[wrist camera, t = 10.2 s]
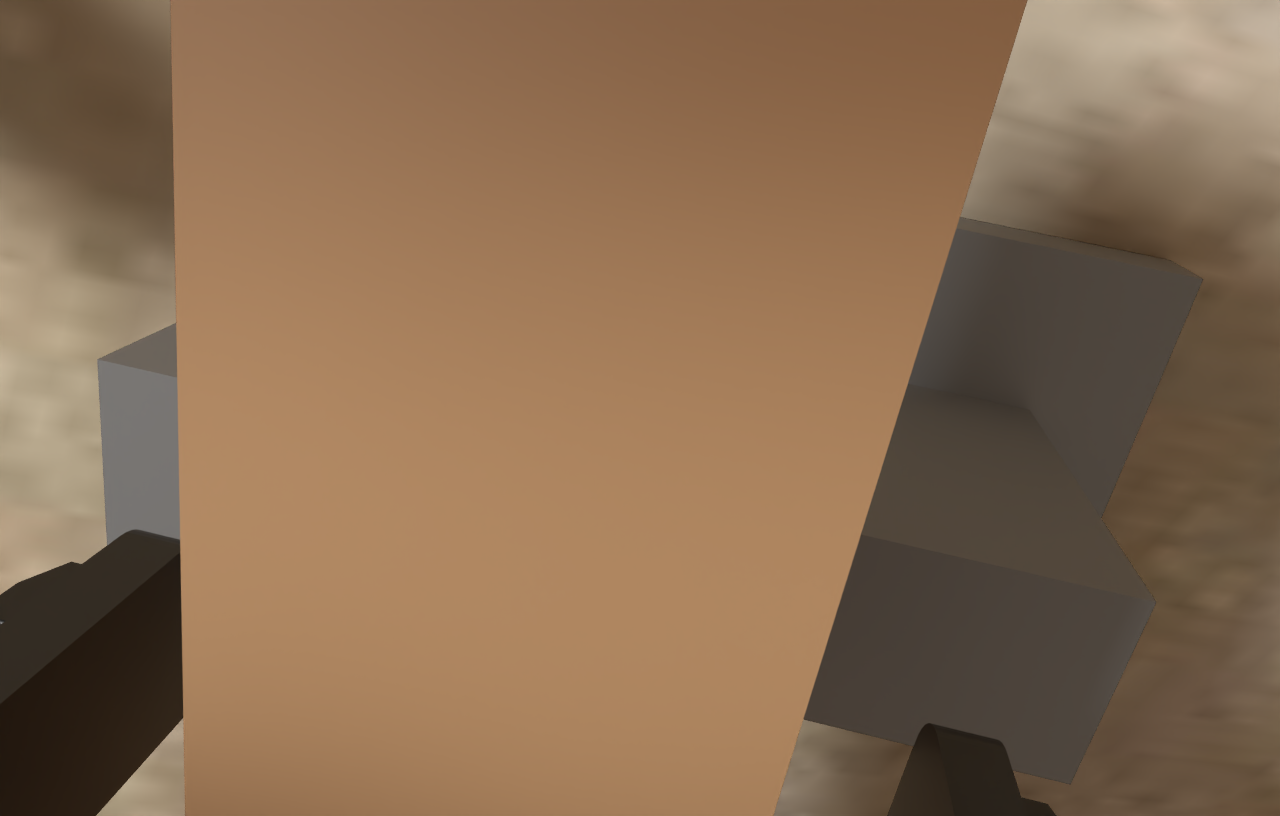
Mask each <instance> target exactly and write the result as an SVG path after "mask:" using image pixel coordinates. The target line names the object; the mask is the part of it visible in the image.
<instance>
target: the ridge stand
mask: <svg viewBox="0 0 1280 816" xmlns="http://www.w3.org/2000/svg"><path fill="white" fill-rule="evenodd" d="M1202 281H1203V279H1202V278H1200V277H1199V276H1197V275H1195V274H1193V273H1192V272H1190V271H1188V270H1186V269H1185V268H1183V267H1181V266H1179V265H1178V264H1176V263H1174V262H1172V261H1171V260H1166V259H1161V258H1156V257H1152V256H1147V255H1142V254H1137V253H1132V252H1127V251H1122V250H1117V249H1112V248H1108V247H1103V246H1098V245H1093V244H1088V243H1083V242H1078V241H1073V240H1069V239H1064V238H1059V237H1054V236H1049V235H1044V234H1039V233H1034V232H1029V231H1025V230H1020V229H1015V228H1010V227H1005V226H1000V225H995V224H990V223H985V222H981V221H976V220H971V219H966V218H961V217H960V218H959V221H958V225H957V228H956V231H955V234H954V237H953V241H952V244H951V247H950V250H949V253H948V257H947V260H946V263H945V266H944V269H943V273H942V276H941V279H940V282H939V285H938V289H937V292H936V295H935V298H934V301H933V305H932V308H931V311H930V314H929V318H928V321H927V324H926V327H925V330H924V334H923V337H922V340H921V343H920V346H919V350H918V353H917V356H916V359H915V362H914V366H913V369H912V372H911V375H910V378H909V382H908V385H907V388H906V391H905V395H904V398H903V401H902V404H901V407H900V411H899V414H898V417H897V420H896V423H895V427H894V430H893V433H892V436H891V439H890V443H889V446H888V449H887V452H886V455H885V459H884V462H883V465H882V468H881V472H880V475H879V478H878V481H877V484H876V488H875V491H874V494H873V497H872V500H871V504H870V507H869V510H868V513H867V516H866V520H865V523H864V526H863V529H862V532H861V536H860V539H859V542H858V545H857V549H856V552H855V555H854V558H853V561H852V565H851V568H850V571H849V574H848V577H847V581H846V584H845V587H844V590H843V593H842V597H841V600H840V603H839V606H838V609H837V613H836V616H835V619H834V622H833V625H832V629H831V632H830V635H829V638H828V642H827V645H826V648H825V651H824V654H823V658H822V661H821V664H820V667H819V670H818V674H817V677H816V680H815V683H814V686H813V690H812V693H811V696H810V699H809V702H808V706H807V709H806V712H805V715H804V720H808V721H812V722H816V723H820V724H825V725H829V726H833V727H837V728H841V729H845V730H849V731H853V732H857V733H861V734H866V735H870V736H874V737H878V738H882V739H886V740H890V741H894V742H898V743H902V744H907V745H911V746H914V744H915V741H916V739H917V736H918V734H919V732H920V730H921V729H922V727H923V726H924V725H925V724H927V723H931V724H935V725H940V726H944V727H948V728H952V729H956V730H960V731H964V732H968V733H973V734H977V735H981V736H985V737H989V738H993V739H997V740H1000V741H1001V742H1002V743H1003V745H1004V746H1005V749H1006V751H1007V754H1008V757H1009V760H1010V764H1011V767H1012V770H1013V771H1017V772H1021V773H1025V774H1030V775H1034V776H1038V777H1042V778H1046V779H1050V780H1054V781H1058V782H1062V783H1066V784H1071V782H1072V780H1073V778H1074V776H1075V774H1076V772H1077V769H1078V767H1079V765H1080V763H1081V761H1082V759H1083V757H1084V755H1085V752H1086V750H1087V748H1088V746H1089V744H1090V742H1091V740H1092V738H1093V736H1094V733H1095V731H1096V729H1097V727H1098V725H1099V723H1100V721H1101V719H1102V716H1103V714H1104V712H1105V710H1106V708H1107V706H1108V704H1109V702H1110V699H1111V697H1112V695H1113V693H1114V691H1115V689H1116V687H1117V685H1118V683H1119V680H1120V678H1121V676H1122V674H1123V672H1124V670H1125V668H1126V666H1127V663H1128V661H1129V659H1130V657H1131V655H1132V653H1133V651H1134V649H1135V647H1136V644H1137V642H1138V640H1139V638H1140V636H1141V634H1142V632H1143V630H1144V627H1145V625H1146V623H1147V621H1148V619H1149V617H1150V615H1151V613H1152V611H1153V608H1154V606H1155V604H1156V601H1155V599H1154V598H1153V596H1152V595H1151V593H1150V592H1149V590H1148V589H1147V587H1146V586H1145V584H1144V583H1143V581H1142V580H1141V578H1140V577H1139V575H1138V574H1137V572H1136V571H1135V569H1134V568H1133V566H1132V565H1131V563H1130V561H1129V560H1128V558H1127V557H1126V555H1125V554H1124V552H1123V551H1122V549H1121V548H1120V546H1119V545H1118V543H1117V542H1116V540H1115V539H1114V537H1113V536H1112V534H1111V533H1110V531H1109V530H1108V528H1107V527H1106V525H1105V524H1104V522H1103V520H1102V519H1101V518H1102V515H1103V513H1104V511H1105V508H1106V506H1107V503H1108V501H1109V499H1110V496H1111V494H1112V492H1113V489H1114V487H1115V485H1116V482H1117V480H1118V478H1119V475H1120V473H1121V471H1122V468H1123V466H1124V464H1125V461H1126V459H1127V457H1128V454H1129V452H1130V450H1131V447H1132V445H1133V443H1134V440H1135V438H1136V435H1137V433H1138V431H1139V428H1140V426H1141V424H1142V421H1143V419H1144V417H1145V414H1146V412H1147V410H1148V407H1149V405H1150V403H1151V400H1152V398H1153V396H1154V393H1155V391H1156V389H1157V386H1158V384H1159V382H1160V379H1161V377H1162V375H1163V372H1164V370H1165V368H1166V365H1167V363H1168V360H1169V358H1170V356H1171V353H1172V351H1173V349H1174V346H1175V344H1176V342H1177V339H1178V337H1179V335H1180V332H1181V330H1182V328H1183V325H1184V323H1185V321H1186V318H1187V316H1188V314H1189V311H1190V309H1191V307H1192V304H1193V302H1194V300H1195V297H1196V295H1197V292H1198V290H1199V288H1200V285H1201V283H1202ZM97 360H98V380H99V399H100V418H101V437H102V456H103V475H104V494H105V513H106V533H107V545H109V544H110V543H111V542H113V541H114V540H115V539H117V538H118V537H119V536H121V535H122V534H124V533H125V532H128V531H130V530H135V529H137V530H143V531H147V532H151V533H155V534H159V535H163V536H167V537H171V538H176V539H180V500H179V445H178V389H177V334H176V323H175V324H173V325H171V326H169V327H166V328H164V329H162V330H160V331H158V332H156V333H153V334H151V335H149V336H147V337H145V338H143V339H140V340H138V341H136V342H134V343H132V344H130V345H127V346H125V347H123V348H121V349H119V350H117V351H114V352H112V353H110V354H108V355H106V356H104V357H101V358H99V359H97Z"/></svg>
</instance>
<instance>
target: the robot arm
mask: <svg viewBox="0 0 1280 816" xmlns="http://www.w3.org/2000/svg"><path fill="white" fill-rule="evenodd" d="M182 718H183V666H182V611H181V555H180V539H176V538H171V537H167V536H163V535H159V534H155V533H151V532H147V531H143V530H137V529H135V530H130V531H128V532H125V533H124V534H122V535H121V536H119V537H118V538H117V539H115V540H114V541H113V542H111V543H110V544H109V545H107V546H106V547H105V548H103V549H102V550H101V551H99V552H98V553H96V554H95V555H94V556H92V557H91V558H90V559H88V560H87V561H86V562H84V563H83V564H78V563H74V562H70V563H67V564H64V565H62V566H59V567H57V568H54V569H52V570H49V571H47V572H44V573H42V574H39V575H36V576H34V577H31V578H29V579H26V580H24V581H21V582H19V583H17V584H15V585H14V586H12V587H11V588H10V589H8V590H7V591H5V592H4V593H3V594H1V595H0V816H96V815H97V814H98V813H99V812H100V810H101V809H102V808H103V807H104V806H105V805H106V804H107V803H108V802H109V800H110V799H111V798H112V797H113V796H114V795H115V794H116V793H117V791H118V790H119V789H120V788H121V787H122V786H123V785H124V784H125V782H126V781H127V780H128V779H129V778H130V777H131V776H132V775H133V773H134V772H135V771H136V770H137V769H138V768H139V767H140V766H141V764H142V763H143V762H144V761H145V760H146V759H147V758H148V757H149V756H150V754H151V753H152V752H153V751H154V750H155V749H156V748H157V747H158V745H159V744H160V743H161V742H162V741H163V740H164V739H165V738H166V736H167V735H168V734H169V733H170V732H171V731H172V730H173V729H174V727H175V726H176V725H177V724H178V723H179V722H180V721H181V720H182ZM887 816H1056V815H1055V813H1054V812H1053V811H1052V809H1051V808H1050V807H1049V805H1048V804H1045V803H1041V802H1037V801H1033V800H1029V799H1025V798H1021V796H1020V793H1019V789H1018V786H1017V783H1016V780H1015V776H1014V773H1013V770H1012V767H1011V764H1010V760H1009V757H1008V754H1007V751H1006V749H1005V746H1004V745H1003V743H1002V742H1001V741H1000V740H997V739H993V738H989V737H985V736H981V735H977V734H973V733H968V732H964V731H960V730H956V729H952V728H948V727H944V726H940V725H935V724H931V723H927V724H925V725H924V726H923V727H922V729H921V730H920V732H919V734H918V736H917V739H916V741H915V744H914V746H913V749H912V752H911V754H910V757H909V760H908V762H907V765H906V768H905V770H904V773H903V776H902V778H901V781H900V783H899V786H898V789H897V791H896V794H895V797H894V799H893V802H892V805H891V807H890V810H889V813H888V815H887Z"/></svg>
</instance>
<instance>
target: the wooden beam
mask: <svg viewBox="0 0 1280 816" xmlns="http://www.w3.org/2000/svg"><path fill="white" fill-rule="evenodd" d="M170 2H171V58H172V113H173V168H174V223H175V279H176V334H177V389H178V445H179V500H180V555H181V611H182V666H183V721H184V776H185V816H773V815H774V812H775V808H776V805H777V802H778V799H779V796H780V792H781V789H782V786H783V783H784V779H785V776H786V773H787V770H788V767H789V763H790V760H791V757H792V754H793V751H794V747H795V744H796V741H797V738H798V735H799V731H800V728H801V725H802V722H803V719H804V715H805V712H806V709H807V706H808V702H809V699H810V696H811V693H812V690H813V686H814V683H815V680H816V677H817V674H818V670H819V667H820V664H821V661H822V658H823V654H824V651H825V648H826V645H827V642H828V638H829V635H830V632H831V629H832V625H833V622H834V619H835V616H836V613H837V609H838V606H839V603H840V600H841V597H842V593H843V590H844V587H845V584H846V581H847V577H848V574H849V571H850V568H851V565H852V561H853V558H854V555H855V552H856V549H857V545H858V542H859V539H860V536H861V532H862V529H863V526H864V523H865V520H866V516H867V513H868V510H869V507H870V504H871V500H872V497H873V494H874V491H875V488H876V484H877V481H878V478H879V475H880V472H881V468H882V465H883V462H884V459H885V455H886V452H887V449H888V446H889V443H890V439H891V436H892V433H893V430H894V427H895V423H896V420H897V417H898V414H899V411H900V407H901V404H902V401H903V398H904V395H905V391H906V388H907V385H908V382H909V378H910V375H911V372H912V369H913V366H914V362H915V359H916V356H917V353H918V350H919V346H920V343H921V340H922V337H923V334H924V330H925V327H926V324H927V321H928V318H929V314H930V311H931V308H932V305H933V301H934V298H935V295H936V292H937V289H938V285H939V282H940V279H941V276H942V273H943V269H944V266H945V263H946V260H947V257H948V253H949V250H950V247H951V244H952V241H953V237H954V234H955V231H956V228H957V225H958V221H959V218H960V215H961V212H962V208H963V205H964V202H965V199H966V196H967V192H968V189H969V186H970V183H971V180H972V176H973V173H974V170H975V167H976V164H977V160H978V157H979V154H980V151H981V148H982V144H983V141H984V138H985V135H986V131H987V128H988V125H989V122H990V119H991V115H992V112H993V109H994V106H995V103H996V99H997V96H998V93H999V90H1000V87H1001V83H1002V80H1003V77H1004V74H1005V71H1006V67H1007V64H1008V61H1009V58H1010V54H1011V51H1012V48H1013V45H1014V42H1015V38H1016V35H1017V32H1018V29H1019V26H1020V22H1021V19H1022V16H1023V13H1024V10H1025V6H1026V3H1027V0H170Z"/></svg>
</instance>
